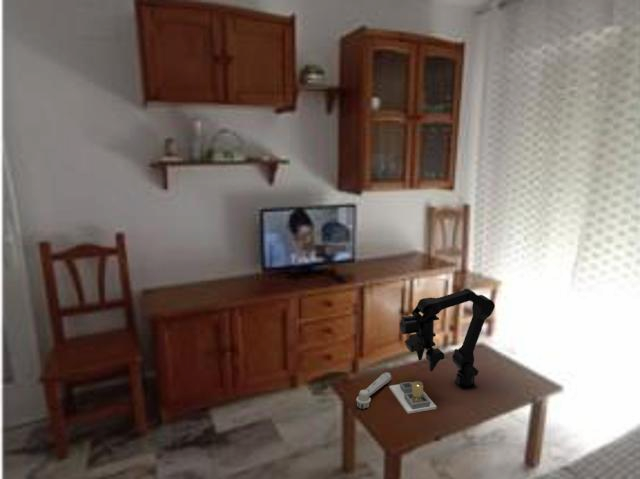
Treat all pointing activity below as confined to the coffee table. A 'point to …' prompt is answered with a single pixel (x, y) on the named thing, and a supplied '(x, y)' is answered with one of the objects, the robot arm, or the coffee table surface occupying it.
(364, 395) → the white handheld shower head
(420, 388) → the gold metallic cylinder
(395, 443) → the coffee table surface
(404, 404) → the white socket board
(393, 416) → the coffee table surface
